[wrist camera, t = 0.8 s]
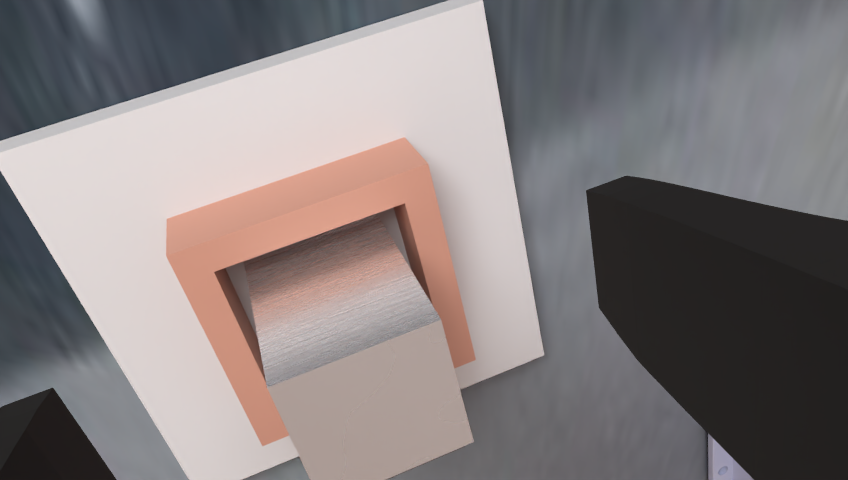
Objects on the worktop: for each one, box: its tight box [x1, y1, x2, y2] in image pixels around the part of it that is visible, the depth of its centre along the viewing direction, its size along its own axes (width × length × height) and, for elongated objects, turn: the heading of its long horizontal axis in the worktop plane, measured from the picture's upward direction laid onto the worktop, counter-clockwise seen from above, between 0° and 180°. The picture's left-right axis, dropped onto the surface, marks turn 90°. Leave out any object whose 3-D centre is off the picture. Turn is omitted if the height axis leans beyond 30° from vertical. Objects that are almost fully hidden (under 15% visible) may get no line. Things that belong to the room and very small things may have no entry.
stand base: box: [0, 0, 544, 480], centre depth 19 cm, size 12×12×4 cm
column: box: [244, 213, 474, 480], centre depth 17 cm, size 4×4×6 cm
